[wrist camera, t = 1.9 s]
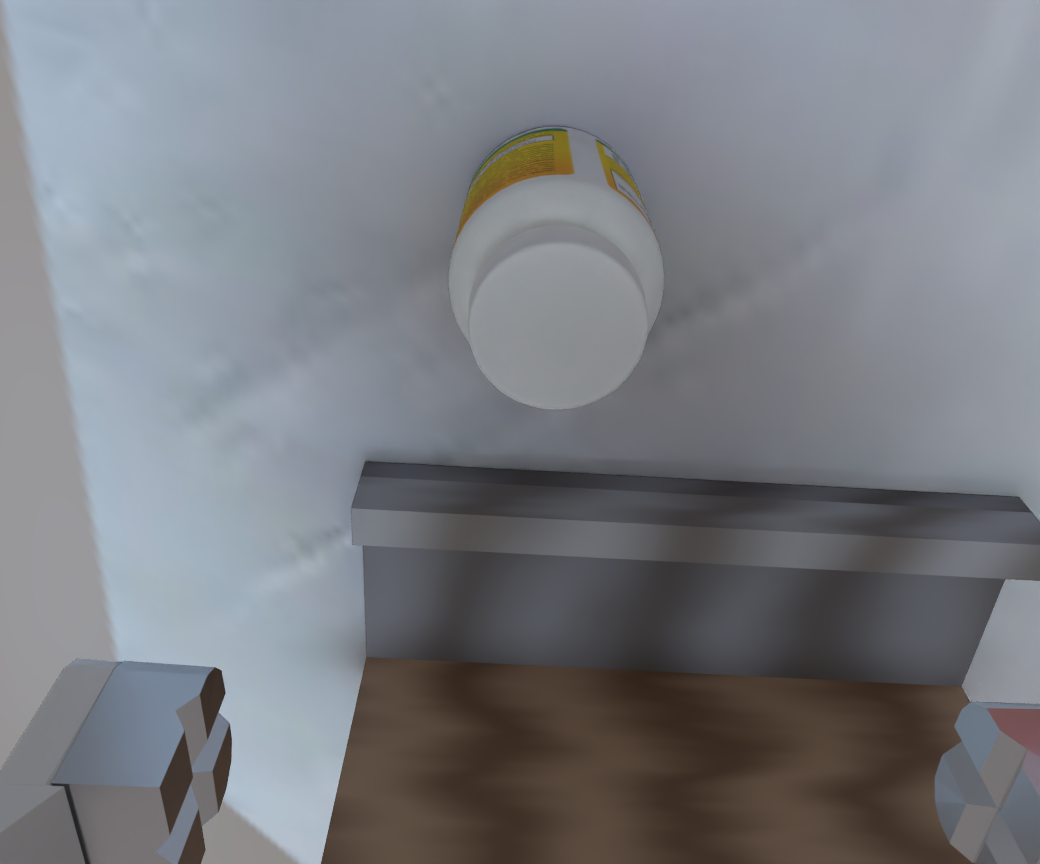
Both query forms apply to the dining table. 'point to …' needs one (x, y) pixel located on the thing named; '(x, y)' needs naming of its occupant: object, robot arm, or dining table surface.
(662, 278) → the supplement bottle
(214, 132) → the dining table surface
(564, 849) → the board
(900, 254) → the dining table surface
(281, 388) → the dining table surface
